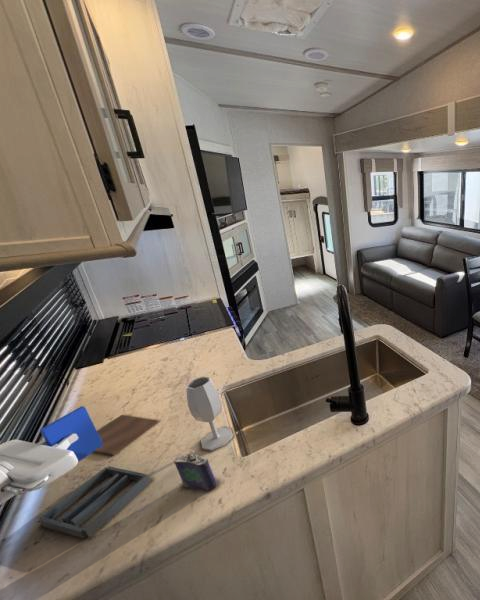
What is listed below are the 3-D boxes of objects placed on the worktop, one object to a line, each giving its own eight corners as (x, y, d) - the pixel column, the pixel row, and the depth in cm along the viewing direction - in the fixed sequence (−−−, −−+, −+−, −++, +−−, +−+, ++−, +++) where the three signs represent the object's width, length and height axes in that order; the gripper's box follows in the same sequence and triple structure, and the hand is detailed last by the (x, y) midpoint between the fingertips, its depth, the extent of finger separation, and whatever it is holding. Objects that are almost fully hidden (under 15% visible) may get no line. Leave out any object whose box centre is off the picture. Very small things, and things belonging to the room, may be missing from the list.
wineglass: (238, 436, 95) (221, 379, 88) (209, 456, 88) (188, 395, 81) (224, 425, 100) (206, 370, 93) (195, 443, 93) (174, 385, 86)
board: (74, 448, 94) (73, 446, 94) (122, 417, 107) (121, 414, 107) (113, 456, 91) (112, 453, 90) (158, 422, 103) (157, 420, 103)
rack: (41, 526, 72) (36, 519, 71) (110, 472, 85) (107, 465, 84) (87, 540, 68) (82, 532, 67) (151, 481, 82) (148, 474, 81)
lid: (62, 470, 72) (39, 429, 68) (100, 443, 79) (81, 406, 75) (65, 470, 72) (42, 430, 68) (103, 444, 79) (84, 406, 75)
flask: (181, 487, 79) (168, 456, 76) (191, 478, 82) (178, 446, 78) (212, 492, 77) (200, 460, 74) (221, 482, 80) (210, 450, 76)
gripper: (14, 484, 57) (98, 429, 70) (-54, 466, 62) (36, 419, 75) (30, 507, 59) (108, 451, 72) (-37, 489, 64) (48, 439, 77)
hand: (71, 434), depth 73 cm, fingers closed on lid, 1 cm apart
